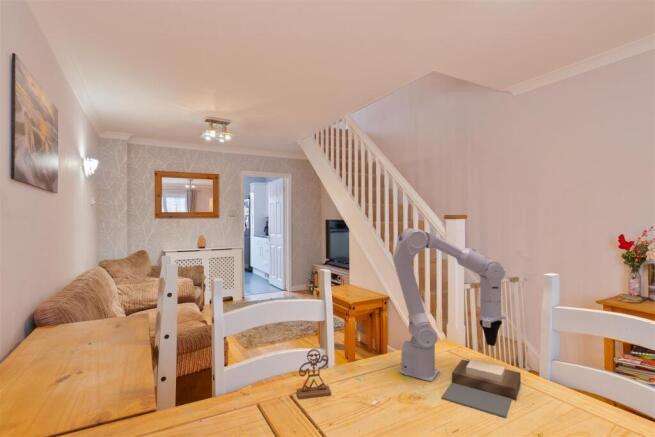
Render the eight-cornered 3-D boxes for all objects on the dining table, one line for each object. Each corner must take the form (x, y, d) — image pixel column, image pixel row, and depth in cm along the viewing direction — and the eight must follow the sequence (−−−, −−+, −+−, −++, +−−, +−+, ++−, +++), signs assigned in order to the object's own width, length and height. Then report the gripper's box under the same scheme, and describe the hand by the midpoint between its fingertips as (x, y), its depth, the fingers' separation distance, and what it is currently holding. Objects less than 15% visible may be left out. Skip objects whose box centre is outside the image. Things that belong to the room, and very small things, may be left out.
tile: (466, 373, 95) (466, 366, 95) (471, 366, 100) (471, 359, 100) (501, 382, 90) (501, 375, 90) (504, 374, 95) (504, 367, 95)
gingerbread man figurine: (298, 399, 88) (298, 353, 88) (296, 392, 92) (296, 348, 92) (331, 395, 90) (331, 350, 90) (328, 388, 94) (328, 345, 94)
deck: (452, 383, 96) (452, 372, 96) (461, 368, 105) (461, 359, 105) (515, 400, 87) (515, 388, 87) (520, 383, 96) (520, 372, 96)
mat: (441, 398, 88) (441, 397, 88) (451, 383, 96) (451, 382, 96) (505, 418, 79) (505, 416, 79) (511, 400, 87) (511, 398, 87)
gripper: (501, 307, 94) (502, 355, 94) (508, 296, 106) (509, 340, 106) (474, 303, 98) (475, 350, 98) (484, 294, 110) (484, 335, 110)
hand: (491, 344), depth 102 cm, fingers closed
